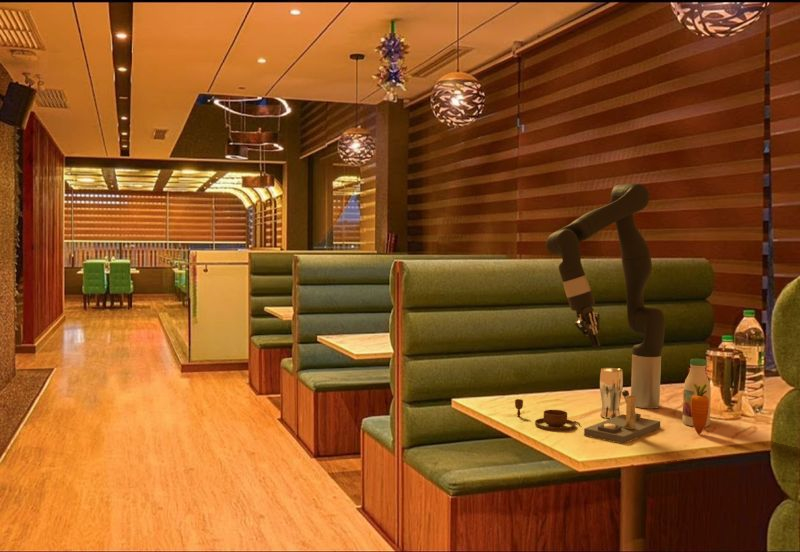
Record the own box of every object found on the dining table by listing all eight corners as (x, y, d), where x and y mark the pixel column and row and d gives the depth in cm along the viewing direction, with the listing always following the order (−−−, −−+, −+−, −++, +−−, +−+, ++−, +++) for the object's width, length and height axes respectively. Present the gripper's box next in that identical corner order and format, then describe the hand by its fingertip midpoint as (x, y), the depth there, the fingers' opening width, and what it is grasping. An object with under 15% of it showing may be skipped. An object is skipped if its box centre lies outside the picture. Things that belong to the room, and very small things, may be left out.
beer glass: (622, 420, 229) (624, 372, 228) (599, 418, 230) (601, 371, 229) (620, 415, 235) (622, 368, 235) (598, 413, 237) (599, 367, 236)
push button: (607, 427, 211) (607, 422, 211) (617, 429, 209) (617, 424, 209) (601, 429, 209) (601, 424, 208) (612, 431, 206) (612, 426, 206)
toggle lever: (633, 418, 222) (623, 390, 224) (639, 417, 221) (628, 389, 223) (630, 420, 221) (620, 391, 223) (636, 418, 220) (625, 389, 222)
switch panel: (622, 420, 228) (622, 409, 228) (660, 427, 220) (660, 415, 220) (584, 435, 210) (584, 422, 210) (623, 443, 202) (624, 430, 202)
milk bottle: (708, 422, 227) (711, 358, 226) (710, 428, 220) (712, 362, 219) (681, 420, 229) (684, 356, 228) (682, 426, 222) (684, 360, 221)
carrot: (686, 432, 215) (688, 381, 215) (702, 431, 216) (704, 381, 215) (694, 436, 210) (696, 384, 210) (711, 436, 211) (713, 384, 210)
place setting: (533, 434, 213) (533, 414, 213) (511, 417, 233) (511, 399, 232) (590, 432, 216) (590, 412, 216) (563, 416, 236) (564, 397, 235)
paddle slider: (628, 426, 212) (629, 395, 212) (636, 427, 211) (637, 396, 210) (623, 428, 210) (624, 396, 210) (631, 429, 208) (632, 398, 208)
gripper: (580, 293, 220) (598, 349, 219) (598, 286, 230) (616, 339, 229) (558, 299, 224) (576, 354, 224) (577, 291, 235) (594, 344, 234)
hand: (596, 346), depth 226 cm, fingers closed
